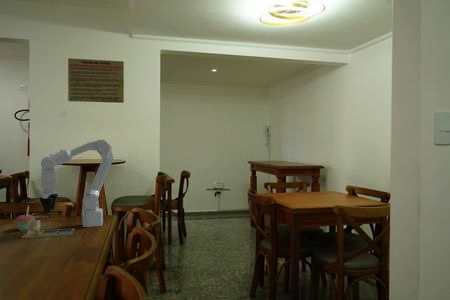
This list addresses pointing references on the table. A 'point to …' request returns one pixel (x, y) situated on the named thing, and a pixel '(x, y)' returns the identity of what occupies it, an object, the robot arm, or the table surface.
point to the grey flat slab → (51, 233)
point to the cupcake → (24, 220)
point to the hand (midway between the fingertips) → (49, 211)
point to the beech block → (33, 228)
